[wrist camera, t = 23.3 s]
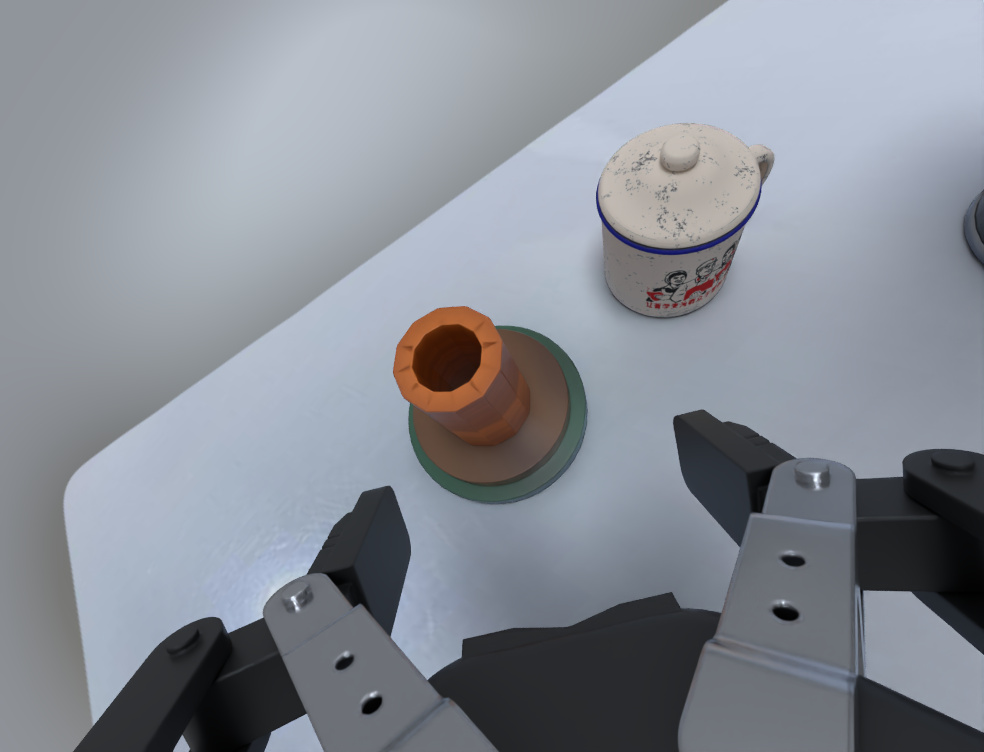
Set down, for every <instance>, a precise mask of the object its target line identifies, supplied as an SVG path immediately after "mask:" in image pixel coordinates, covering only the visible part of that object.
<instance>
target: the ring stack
mask: <svg viewBox="0 0 984 752" xmlns="http://www.w3.org/2000/svg"><path fill="white" fill-rule="evenodd" d="M495 328H496V330H497V332H498V333H499V335H500V337H501V339H502V341H503V342H504V344H505V346H506V348H507V349H508V351H509V353H510V355H511V357H512V358H513V360H514V362H515V364H516V365H517V367H518V369H519V371H520V372H521V374H522V376H523V378H524V380H525V381H526V383H527V385H528V387H529V388H530V412H529V414H528V416H527V418H526V419H525V421H524V422H523V424H522V426H521V427H520V429H519V430H518V432H517V433H516V434H515V435H514V436H512V437H510V438H508V439H506V440H505V441H503V442H501V443H499V444H497V445H494V446H478V445H470V444H468V443H467V442H465V441H464V440H462V439H461V438H459V437H458V436H456V435H454V434H453V433H452V432H450V431H449V430H447V429H446V428H445V427H443V426H442V425H440V424H439V423H438V422H436V421H435V420H434V419H432V418H431V417H429V416H428V415H427V414H425V413H424V412H422V411H421V410H420V409H418V408H417V407H415V406H414V405H413V404H411V403H410V407H409V433H410V438H411V443H412V446H413V449H414V452H415V454H416V456H417V458H418V460H419V462H420V463H421V465H422V466H423V468H424V469H425V471H426V472H427V473H428V474H429V475H430V476H431V477H432V479H433V480H435V481H436V482H437V483H438V484H439V485H441V486H442V487H443V488H445V489H447V490H448V491H450V492H452V493H454V494H456V495H458V496H461V497H463V498H466V499H469V500H472V501H476V502H480V503H489V504H504V503H510V502H516V501H519V500H523V499H526V498H529V497H531V496H533V495H535V494H537V493H539V492H541V491H542V490H544V489H546V488H547V487H549V486H550V485H551V484H552V483H554V482H555V481H556V480H557V479H558V478H559V477H560V476H561V475H562V474H563V473H564V472H565V471H566V470H567V469H568V467H569V466H570V464H571V463H572V461H573V460H574V458H575V456H576V455H577V453H578V451H579V449H580V446H581V443H582V441H583V438H584V434H585V429H586V424H587V402H586V396H585V392H584V387H583V383H582V381H581V378H580V375H579V373H578V371H577V369H576V367H575V365H574V363H573V362H572V360H571V359H570V358H569V356H568V355H567V354H566V353H565V352H564V351H563V350H562V349H561V348H560V347H559V346H558V345H557V344H556V343H554V342H553V341H552V340H550V339H549V338H547V337H545V336H543V335H542V334H540V333H537V332H535V331H532V330H529V329H525V328H521V327H515V326H495Z"/></svg>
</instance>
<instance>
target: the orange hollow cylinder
mask: <svg viewBox="0 0 984 752" xmlns="http://www.w3.org/2000/svg"><path fill="white" fill-rule="evenodd" d="M393 374H394V377H395V379H396V382H397V384H398V387H399V389H400V391H401V394H402V396H403V397H404V399H406V400H407V401H408V402H410V403H411V404H413V405H414V406H415V407H417V408H418V409H420V410H421V411H422V412H424V413H425V414H427V415H428V416H429V417H431V418H432V419H434V420H435V421H436V422H438V423H439V424H440V425H442V426H443V427H445V428H446V429H447V430H449V431H450V432H452V433H453V434H454V435H456V436H458V437H459V438H461V439H462V440H464V441H465V442H467V443H468V444H470V445H478V446H494V445H497V444H499V443H501V442H503V441H505V440H506V439H508V438H510V437H512V436H514V435H515V434H516V433H517V432H518V430H519V429H520V427H521V426H522V424H523V422H524V421H525V419H526V418H527V416H528V414H529V412H530V388H529V387H528V385H527V383H526V381H525V380H524V378H523V376H522V374H521V372H520V371H519V369H518V367H517V365H516V364H515V362H514V360H513V358H512V357H511V355H510V353H509V351H508V349H507V348H506V346H505V344H504V342H503V341H502V339H501V337H500V335H499V333H498V332H497V330H496V328H495V326H494V325H493V323H492V321H491V319H490V318H489V317H487V316H485V315H483V314H481V313H479V312H477V311H475V310H473V309H471V308H469V307H465V306H461V307H446V308H439V309H438V308H437V309H436V310H434V311H432V312H430V313H429V314H427V315H425V316H424V317H422V318H420V319H418V320H417V321H415V322H414V323H413V324H412V325H411V326H410V328H409V329H408V331H407V332H406V334H405V335H404V336H403V338H402V339H401V341H400V342H399V343H398V345H397V348H396V355H395V362H394V368H393Z"/></svg>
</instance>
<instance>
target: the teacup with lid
mask: <svg viewBox="0 0 984 752" xmlns="http://www.w3.org/2000/svg"><path fill="white" fill-rule="evenodd" d="M773 164H774V153H773V152H772V151H771V150H770V149H769V148H767V147H766V146H764V145H753V146H750V147H747V146H746V145H745V144H744V143H743V142H742V141H741V140H740V139H738V138H737V137H736V136H734V135H732V134H730V133H729V132H727V131H724V130H722V129H719V128H716V127H713V126H709V125H704V124H695V123H680V124H672V125H666V126H662V127H658V128H655V129H652V130H649V131H647V132H645V133H643V134H641V135H639V136H637V137H635V138H633V139H632V140H630V141H629V142H627V143H626V144H625V145H624V146H622V147H621V148H620V149H619V150H618V151H617V152H616V153H615V154H614V155H613V157H612V158H611V159H610V160H609V162H608V163H607V165H606V167H605V168H604V170H603V172H602V175H601V177H600V180H599V183H598V186H597V192H596V204H597V209H598V213H599V216H600V218H601V220H602V234H603V249H604V264H605V276H606V280H607V283H608V286H609V288H610V290H611V291H612V293H613V294H614V296H615V297H616V298H617V299H618V300H619V301H620V302H621V303H622V304H624V305H625V306H627V307H628V308H630V309H632V310H634V311H636V312H638V313H641V314H644V315H648V316H654V317H673V316H679V315H683V314H686V313H689V312H692V311H694V310H696V309H698V308H700V307H702V306H703V305H705V304H706V303H707V302H709V301H710V300H711V299H712V298H713V297H714V296H715V295H716V294H717V293H718V291H719V290H720V288H721V287H722V285H723V283H724V281H725V279H726V276H727V273H728V270H729V268H730V265H731V262H732V260H733V257H734V254H735V251H736V249H737V246H738V243H739V240H740V238H741V235H742V232H743V230H744V227H745V224H746V223H747V221H748V220H749V219H750V218H751V216H752V214H753V213H754V211H755V209H756V207H757V205H758V202H759V199H760V195H761V186H762V185H763V184H764V182H765V180H766V179H767V177H768V175H769V174H770V172H771V169H772V167H773Z"/></svg>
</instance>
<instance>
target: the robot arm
mask: <svg viewBox="0 0 984 752" xmlns="http://www.w3.org/2000/svg"><path fill="white" fill-rule="evenodd" d="M965 234H966V238H967V241H968V243H969V246H970V248H971V249H972V251H973V252H974V254H975V255H976V257H977V258H978V259H979V260H980V261H981V262H982V263H983V264H984V190H983V191H982V192H981V193H980V194H979V195H978V196H977V197H976V198H975V199H974V201H973V202H972V204H971V205H970V207H969V209H968V211H967V214H966V218H965ZM673 425H674V431H675V437H676V443H677V449H678V455H679V461H680V466H681V471H682V475H683V478H684V480H685V483H686V485H687V487H688V488H689V490H690V491H691V493H692V494H693V495H694V496H695V497H696V498H697V499H698V500H699V502H700V503H701V504H702V505H703V506H704V507H705V508H706V510H707V511H708V512H709V513H710V514H711V515H712V516H713V517H714V519H715V520H716V521H717V522H718V523H719V524H720V525H721V527H722V528H723V529H724V530H725V531H726V532H727V533H728V534H729V536H730V537H731V538H732V539H733V540H734V541H735V542H736V543H737V545H738V546H739V547H740V551H739V554H738V558H737V561H736V564H735V568H734V571H733V575H732V578H731V582H730V585H729V589H728V592H727V596H726V599H725V603H724V606H723V610H722V613H719V612H714V611H708V610H703V609H690V608H680V606H679V604H678V602H677V601H676V599H675V597H674V595H673V594H672V592H670V593H666V594H661V595H657V596H653V597H648V598H644V599H639V600H635V601H630V602H626V603H622V604H618V605H616V606H614V607H612V608H610V609H607V610H605V611H603V612H601V613H599V614H597V615H594V616H592V617H590V618H588V619H586V620H583V621H581V622H579V623H577V624H575V625H572V626H569V627H553V628H511V629H507V630H503V631H498V632H494V633H489V634H485V635H481V636H476V637H472V638H467V639H463V645H462V658H460V659H458V660H456V661H454V662H453V663H451V664H449V665H447V666H446V667H444V668H443V669H441V670H440V671H438V672H437V673H436V674H434V675H433V676H432V677H430V678H429V679H428V680H426V679H425V677H424V676H423V675H422V674H421V673H420V672H419V670H418V669H417V668H416V667H415V666H414V665H413V663H412V662H411V661H410V660H409V659H408V657H407V656H406V655H405V654H404V653H403V652H402V650H401V649H400V648H399V647H398V646H397V645H396V643H395V642H394V641H393V640H392V639H391V638H390V637H391V633H392V629H393V625H394V621H395V617H396V613H397V609H398V605H399V601H400V597H401V593H402V589H403V585H404V581H405V577H406V573H407V569H408V565H409V561H410V556H411V545H410V538H409V534H408V531H407V528H406V525H405V522H404V519H403V517H402V514H401V511H400V508H399V505H398V502H397V499H396V496H395V493H394V491H393V489H392V488H391V487H390V486H385V487H381V488H377V489H372V490H368V491H364V492H362V494H361V496H360V498H359V500H358V501H357V503H356V505H355V507H354V509H353V511H352V512H350V513H347V514H346V515H345V516H344V517H343V518H342V519H341V520H340V521H338V522H337V523H336V524H335V525H334V527H333V529H332V530H331V532H330V534H329V536H328V539H327V540H326V541H325V543H324V545H323V546H322V550H320V552H319V553H318V555H317V557H316V559H315V561H314V562H313V564H312V566H311V568H310V569H309V571H308V573H307V575H305V576H302V577H299V578H297V579H295V580H293V581H291V582H289V583H288V584H286V585H285V586H283V587H282V588H280V589H279V590H278V591H277V592H276V593H274V594H273V595H272V596H271V597H270V599H269V600H268V601H267V603H266V604H265V606H264V609H263V616H264V618H262V619H260V620H257V621H255V622H253V623H251V624H248V625H246V626H244V627H242V628H239V629H237V630H235V631H233V632H230V633H227V631H226V629H225V627H224V624H223V622H222V620H221V619H220V618H217V617H208V618H203V619H200V620H197V621H195V622H192V623H190V624H188V625H186V626H184V627H182V628H181V629H179V630H177V631H176V632H174V633H173V634H171V635H170V636H169V637H167V638H166V639H165V640H164V641H162V642H161V643H160V644H159V645H158V646H157V647H156V648H155V649H154V650H153V651H152V653H151V654H150V655H149V656H148V658H147V659H146V660H145V661H144V663H143V664H142V665H141V666H140V668H139V669H138V670H137V671H136V673H135V674H134V675H133V677H132V678H131V679H130V680H129V682H128V683H127V684H126V685H125V687H124V688H123V689H122V690H121V692H120V693H119V694H118V696H117V697H116V698H115V699H114V701H113V702H112V703H111V704H110V706H109V707H108V708H107V709H106V711H105V712H104V713H103V715H102V716H101V717H100V718H99V720H98V721H97V722H96V723H95V725H94V726H93V727H92V728H91V730H90V731H89V732H88V734H87V735H86V736H85V737H84V739H83V740H82V741H81V743H80V744H79V745H78V746H77V747H76V749H75V750H74V751H73V752H173V750H174V748H175V746H176V744H177V743H178V741H179V739H180V737H181V736H182V734H183V736H184V738H185V740H186V742H187V744H188V745H189V747H190V751H189V752H264V751H265V748H266V746H267V743H268V741H269V738H270V735H271V732H272V731H274V730H276V729H278V728H280V727H282V726H284V725H286V724H288V723H289V722H291V721H293V720H295V719H297V718H299V717H301V716H303V715H305V714H307V715H308V717H309V719H310V721H311V723H312V726H313V728H314V730H315V732H316V735H317V737H318V739H319V741H320V744H321V746H322V748H323V750H324V752H984V733H983V732H981V731H979V730H977V729H975V728H972V727H970V726H968V725H966V724H964V723H962V722H960V721H958V720H955V719H953V718H951V717H949V716H947V715H945V714H943V713H940V712H938V711H936V710H934V709H932V708H930V707H928V706H926V705H923V704H921V703H919V702H917V701H915V700H913V699H911V698H909V697H906V696H904V695H902V694H900V693H898V692H896V691H894V690H892V689H889V688H887V687H885V686H883V685H881V684H879V683H877V682H874V681H872V680H870V679H868V678H866V648H865V613H864V590H870V591H911V592H912V593H913V594H914V595H915V596H916V597H917V598H918V599H919V600H921V601H922V602H923V603H924V604H925V605H926V606H928V607H929V608H930V609H931V610H932V611H933V612H935V613H936V614H937V615H938V616H939V617H940V618H941V619H943V620H944V621H945V622H946V623H947V624H948V625H950V626H951V627H952V628H953V629H954V630H955V631H957V632H958V633H959V634H960V635H961V636H962V637H964V638H965V639H966V640H967V641H968V642H969V643H971V644H972V645H973V646H974V647H975V648H976V649H978V650H979V651H980V652H981V653H982V654H983V655H984V455H982V454H979V453H974V452H970V451H963V450H955V449H930V450H922V451H918V452H914V453H912V454H909V455H908V456H906V457H905V458H904V459H903V462H902V463H903V477H890V478H871V479H856V477H855V474H854V472H853V471H852V470H851V469H850V468H848V467H847V466H845V465H843V464H841V463H838V462H835V461H831V460H826V459H818V458H800V459H797V458H795V457H794V456H792V455H791V454H789V453H787V452H786V451H784V450H783V449H781V448H780V447H778V446H777V445H775V444H773V443H770V442H769V440H767V439H766V438H764V437H762V436H759V434H758V433H756V432H755V431H753V430H752V429H750V428H748V427H747V426H744V425H740V424H736V423H732V422H729V421H728V422H723V423H722V422H721V421H719V420H718V419H716V418H715V417H714V416H712V415H711V414H709V413H708V412H706V411H705V410H698V411H693V412H689V413H685V414H681V415H677V416H675V417H674V420H673Z"/></svg>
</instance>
